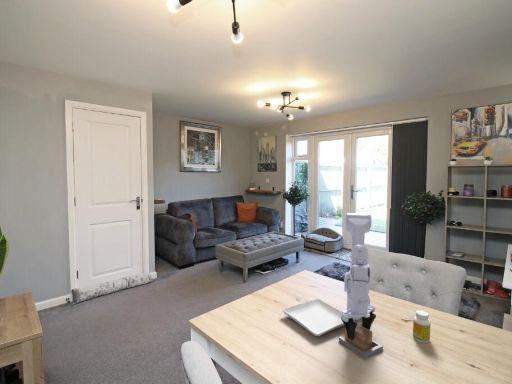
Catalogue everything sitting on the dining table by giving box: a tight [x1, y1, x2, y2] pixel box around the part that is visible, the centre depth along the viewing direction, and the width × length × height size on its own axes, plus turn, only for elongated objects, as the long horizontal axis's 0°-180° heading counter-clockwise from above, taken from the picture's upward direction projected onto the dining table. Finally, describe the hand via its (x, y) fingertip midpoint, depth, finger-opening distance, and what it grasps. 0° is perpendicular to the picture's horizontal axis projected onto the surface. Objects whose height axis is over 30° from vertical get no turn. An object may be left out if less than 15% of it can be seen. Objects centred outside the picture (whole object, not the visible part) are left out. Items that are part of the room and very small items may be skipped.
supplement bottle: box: [412, 309, 432, 343], centre depth 101 cm, size 5×5×10 cm
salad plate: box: [282, 298, 355, 337], centre depth 113 cm, size 21×21×3 cm
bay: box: [338, 336, 384, 360], centre depth 97 cm, size 10×11×2 cm
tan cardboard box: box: [344, 323, 373, 352], centre depth 98 cm, size 4×8×6 cm, turn 29°
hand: (358, 335), depth 98 cm, fingers open, 7 cm apart
